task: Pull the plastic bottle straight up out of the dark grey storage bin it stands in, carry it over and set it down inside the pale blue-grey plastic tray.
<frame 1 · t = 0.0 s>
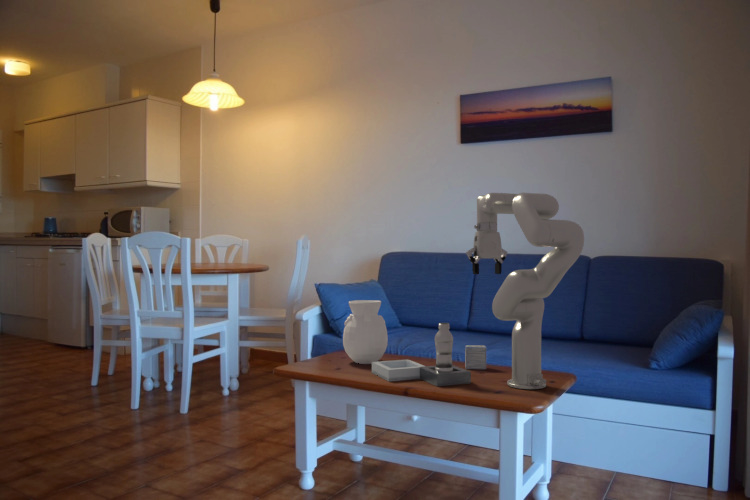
hand: (487, 274, 217), 37 cm above the table, tool pointing down, fingers open, 9 cm apart
white vase: (365, 362, 237), on the table
grey upright block: (475, 369, 224), on the table
tray: (398, 375, 211), on the table
plastic bottle: (444, 381, 202), resting in dark grey storage bin
dark grey storage bin: (444, 380, 202), on the table
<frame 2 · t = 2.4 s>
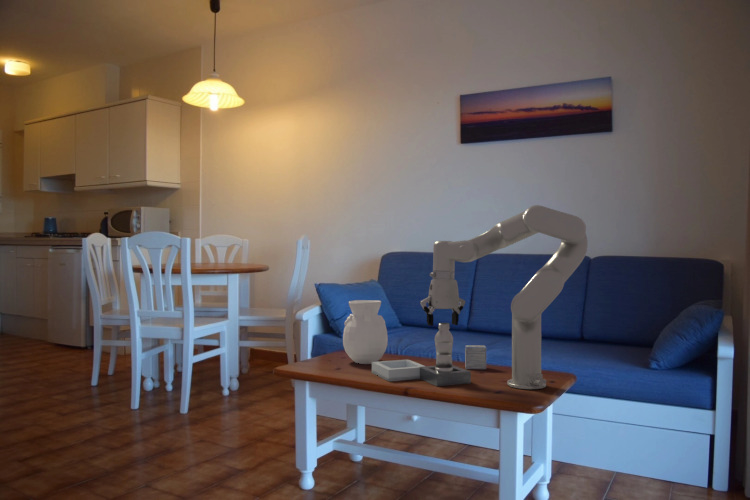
hand: (442, 325, 202), 19 cm above the table, tool pointing down, fingers open, 9 cm apart
nothing on the table moved.
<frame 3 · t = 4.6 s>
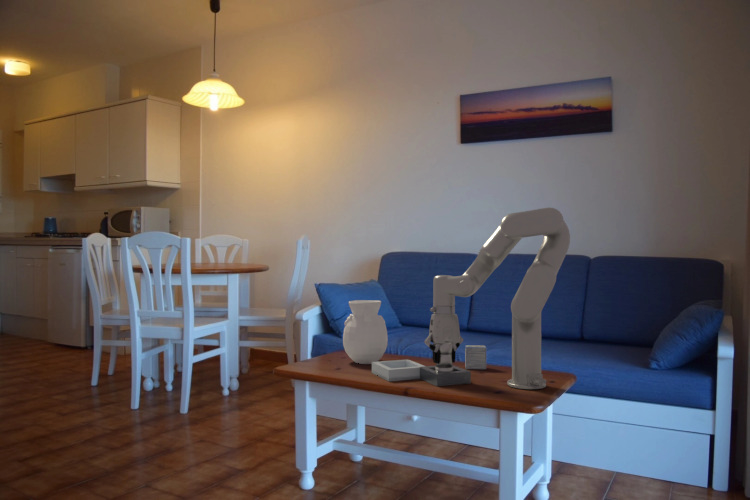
hand: (444, 361, 202), 7 cm above the table, tool pointing down, fingers closed on plastic bottle, 5 cm apart
plastic bottle: (444, 381, 202), resting in dark grey storage bin, touching gripper
everything else where it was.
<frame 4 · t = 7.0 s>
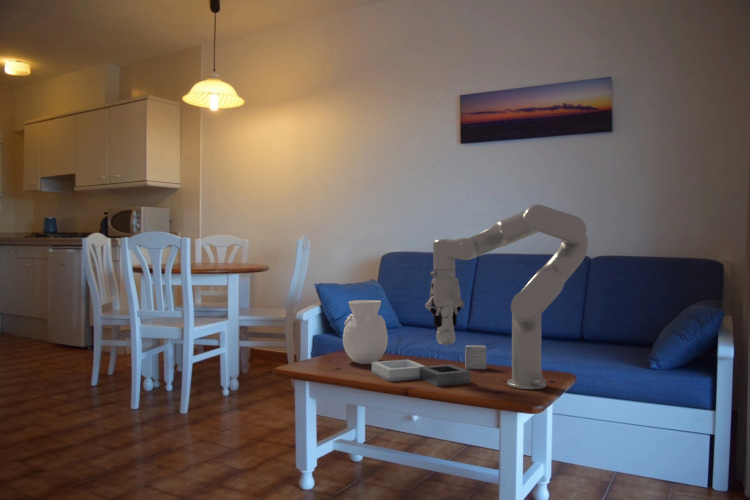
hand: (445, 325, 202), 19 cm above the table, tool pointing down, fingers closed on plastic bottle, 5 cm apart
plastic bottle: (445, 345, 202), point 12 cm above the table, touching gripper
everything else where it was.
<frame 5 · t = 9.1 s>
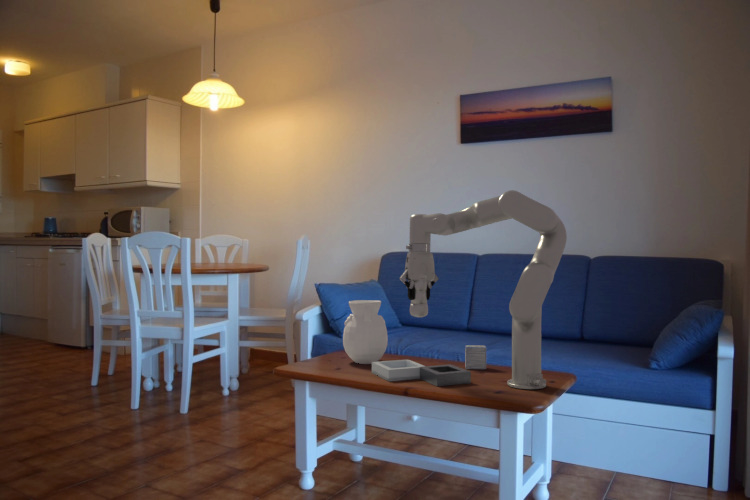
hand: (418, 299, 207), 28 cm above the table, tool pointing down, fingers closed on plastic bottle, 5 cm apart
plastic bottle: (418, 317, 207), point 21 cm above the table, touching gripper
everything else where it was.
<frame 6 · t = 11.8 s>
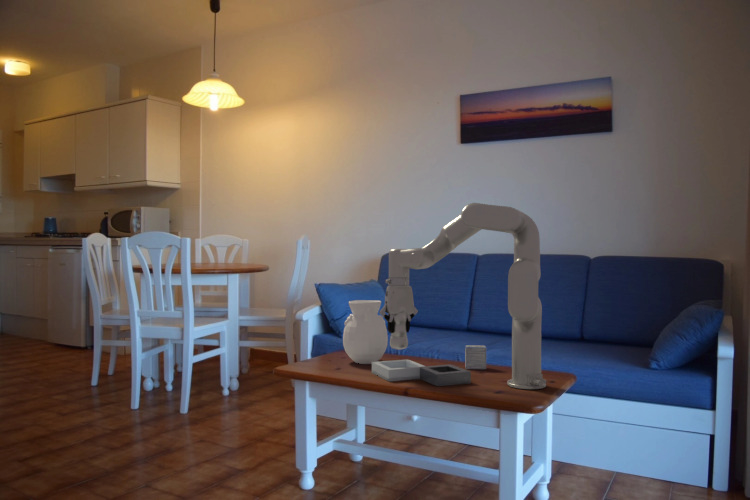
hand: (398, 331, 211), 16 cm above the table, tool pointing down, fingers closed on plastic bottle, 5 cm apart
plastic bottle: (398, 350, 211), point 9 cm above the table, touching gripper
everything else where it was.
when the fingers open (9 cm above the table, at t = 13.9 s): plastic bottle drops 2 cm, resting on tray.
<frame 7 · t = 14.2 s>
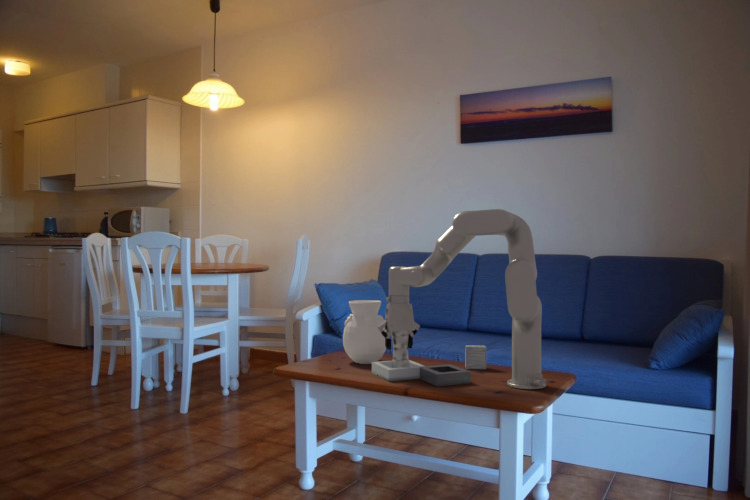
hand: (399, 348, 211), 10 cm above the table, tool pointing down, fingers open, 7 cm apart
plastic bottle: (400, 373, 211), point 1 cm above the table, touching tray
everything else where it was.
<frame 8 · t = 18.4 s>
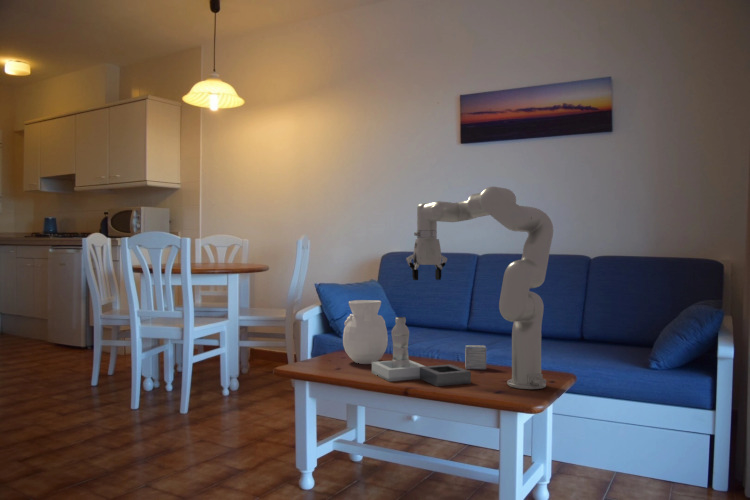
hand: (426, 279, 223), 34 cm above the table, tool pointing down, fingers open, 9 cm apart
nothing on the table moved.
at the end: plastic bottle inside the target area on the tray (0.7 cm from its centre), point 0.8 cm above the tray's base; the gripper is holding nothing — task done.
